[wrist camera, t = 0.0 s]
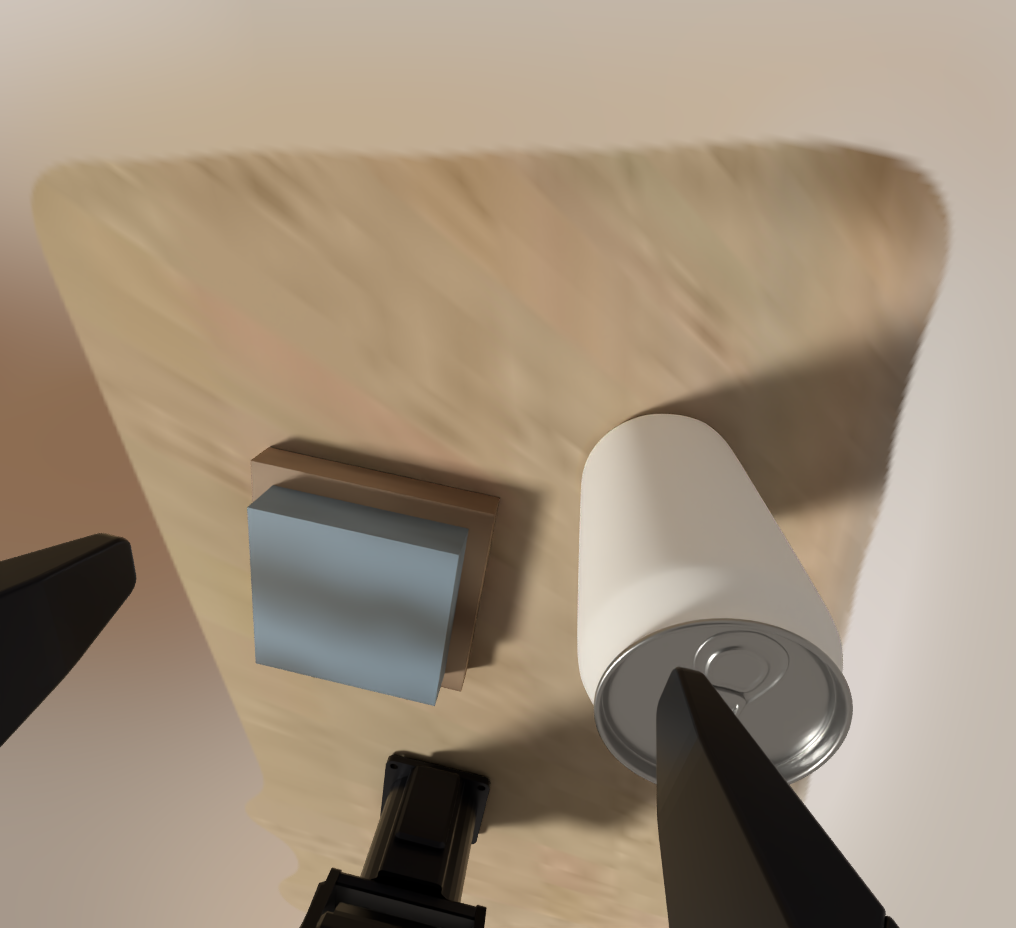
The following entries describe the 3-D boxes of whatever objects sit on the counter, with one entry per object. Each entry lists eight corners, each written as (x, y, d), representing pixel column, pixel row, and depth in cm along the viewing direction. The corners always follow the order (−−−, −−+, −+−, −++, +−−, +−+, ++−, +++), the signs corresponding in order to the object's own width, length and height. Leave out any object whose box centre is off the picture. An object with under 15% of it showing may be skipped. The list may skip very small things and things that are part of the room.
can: (762, 430, 21) (938, 651, 11) (703, 558, 24) (795, 835, 14) (604, 392, 22) (620, 572, 11) (564, 524, 24) (546, 770, 14)
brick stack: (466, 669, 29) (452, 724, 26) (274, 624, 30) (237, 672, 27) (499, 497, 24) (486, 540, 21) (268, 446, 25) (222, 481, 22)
